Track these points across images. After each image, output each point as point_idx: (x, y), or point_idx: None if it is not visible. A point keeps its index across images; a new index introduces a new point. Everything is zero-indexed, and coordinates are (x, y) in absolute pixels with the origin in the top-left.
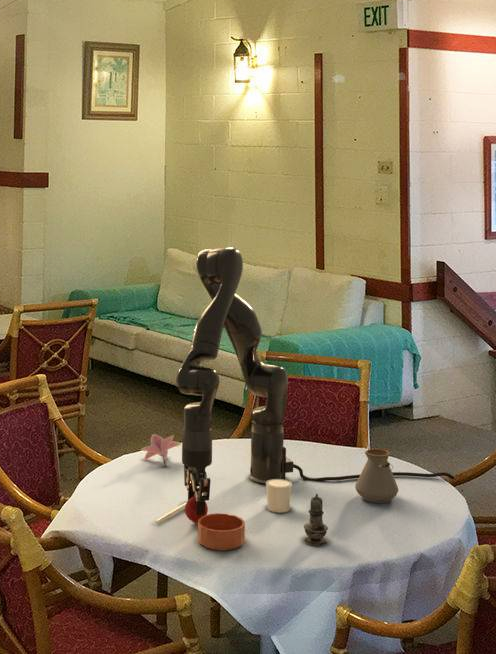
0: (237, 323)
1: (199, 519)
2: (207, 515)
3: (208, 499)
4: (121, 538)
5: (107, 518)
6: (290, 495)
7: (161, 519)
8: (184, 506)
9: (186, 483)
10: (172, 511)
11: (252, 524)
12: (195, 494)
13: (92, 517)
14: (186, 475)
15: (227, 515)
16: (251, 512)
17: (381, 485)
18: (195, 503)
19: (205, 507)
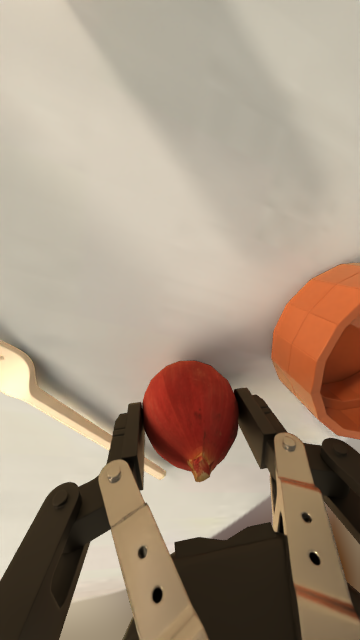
0: None
1: (340, 432)
2: (321, 403)
3: (347, 447)
4: (225, 526)
5: (105, 552)
6: None
7: (153, 466)
8: (48, 399)
9: (86, 544)
10: (102, 441)
11: (241, 171)
12: (208, 477)
13: (95, 574)
14: (57, 635)
15: (346, 322)
16: (103, 112)
17: None
18: (230, 447)
19: (228, 393)
